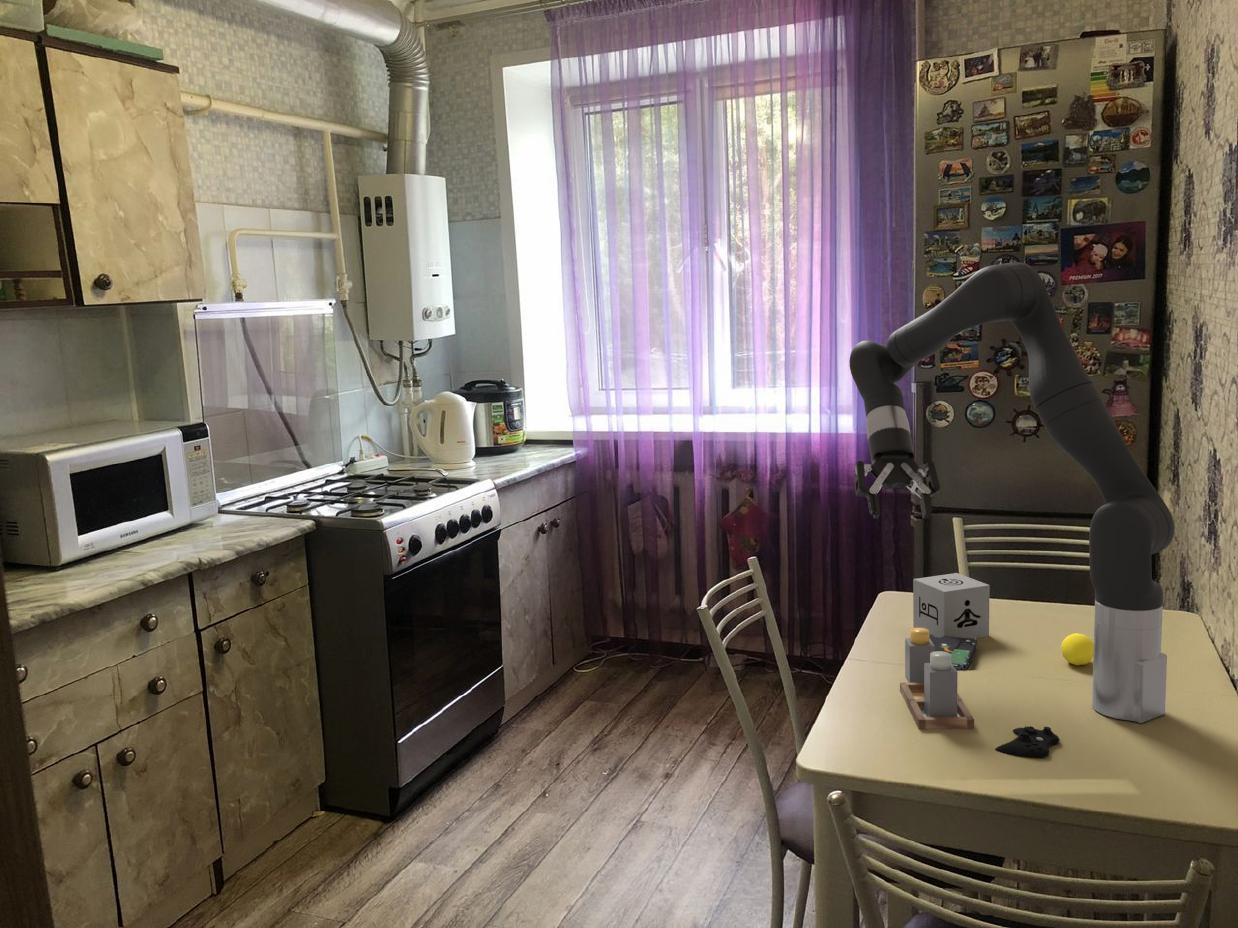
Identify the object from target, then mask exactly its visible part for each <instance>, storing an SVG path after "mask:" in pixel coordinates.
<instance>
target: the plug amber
mask: <svg viewBox="0 0 1238 928" xmlns="http://www.w3.org/2000/svg"><path fill="white" fill-rule="evenodd" d="M909 632H910V635H909V638H908V637H907V638H905V637H904V638H905V640H904V657H905V658H904V675H905V679H906V681H907V683H915V682H924V663H930V653H932V652H935V646H934V644H933V643H932V641H931V640H930V638H929V630H928V629H925V628H911V629H910V630H909Z"/></svg>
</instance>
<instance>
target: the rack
mask: <svg viewBox="0 0 1238 928" xmlns="http://www.w3.org/2000/svg"><path fill="white" fill-rule="evenodd" d="M899 692H900V694H901V696H902V698H903V700H904V702H905V705H906V706H907V708H908V710H909V712H910V715H911V716H912V719H913V721H914V723H915V725H916V726H917V728H918V730H972V729H975V718H974V717H973V715H972V713H971V712H970V710H969V709H968V707H967V706H966V704H965V703H964V701H963V699H962V698H961V696H960V694H959V693H958V692H957V717H926V715H925V713H924V682H915V683H908V682H899Z"/></svg>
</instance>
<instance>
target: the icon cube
mask: <svg viewBox="0 0 1238 928" xmlns="http://www.w3.org/2000/svg"><path fill="white" fill-rule="evenodd" d="M912 581H913V582H912V583H913V584H912V585H913V586H912V587H913V589H912V591H913V592H912V594H913V595H912V596H913V600H912V605H913V611H912V613H913V615H912V616H913V623H912V624H913V627H914V628H925V629H928V630H929V634H932V635H933V636H934V637H938V638H940V637H944V636H951V637H960V638H971V639H977V638H984V637H989V636H990V587H991V586H990V584H988V583H985V582H982V581H979V580H977V579H975V578H971V577H969V576H966V575H964V574H961V573H958V572H954V573H947V574H946V573H945V574H942V575H941V574H940V575H933V576H927V577H919V578H913V580H912Z"/></svg>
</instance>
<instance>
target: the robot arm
mask: <svg viewBox="0 0 1238 928" xmlns="http://www.w3.org/2000/svg"><path fill="white" fill-rule="evenodd" d="M1053 303H1054V302H1053V301H1052V299H1051V297H1050V293H1049V291H1048V288H1047V287H1046V284H1045V283H1044V280H1043V278H1042V277H1041V276H1040V273H1039V272H1038V271H1037V270H1036V269H1035V268H1034V267H1033V266H1031V265H1030V264H1027V263H1024V262H1020V261H1019V262H1017V261H1016V262H1007V263H999V264H993V265H989V266H985V267H983V268H981V269H979V270H978V271H976V272H975V273H974V274H972V275H971V276H970V277H968V279H966V281H964V282H963V283H962V284H961V285H960V286H958V287H957V288H956V289H955V290H954V291H953V292H952V293H951V294H950V295H948V296H947V297H946V298H944V299H943V300H942V301H941V302H940V303H938V304H937V305H936V306H934V307H933V308H931V309H930V310H928V311H927V312H925V313H923V314H922V315H919V316H918V317H916V318H915V319H913V320H911V321H909V322H908V323H906V324H904V325H902V326H901V327H900V328H898V329H896V330H895V331H893V332H892V333H891V334H890V335H889V337H888V339H887V342H886V345H885V344H882V343H879V342H876V341H872V340H862V341H860V342H858V343H856V345H854V347H853V348H852V350H851V352H850V354H849V355H850V356H849V359H848V360H849V361H848V362H849V364H848V365H849V371H850V374H851V376H852V379H853V381H854V383H855V385H856V388H857V390H858V392H859V394H860V396H861V398H862V400H863V404H864V412H865V417H866V439H867V440H868V441H867V442H868V448H869V449H868V450H869V455H870V462H871V464H869V463H868V464H867V463H865V462H863V461H862V460H859V461H857V462H856V465H855V467H854V485H855V495H856V497H858V498H862V497H863V498H866V500H867V505H868V511H869V514H870V515H871V516H872V517H873V519H879V517H880V515H881V507H880V502H879V495H878V493H879V492H880V490H881V488H882V487H883V486H884V487H885V488H886V489H894V488H897V489H905V488H907V489H908V490H909V491H910V492H911V493H912V494H915V495H916V496H917V497H918V498H920V499H919V505H920V511H921V516H922V519H928V518H929V516H930V515H931V514H932V512H933V504H932V498H936V497H937V495H938V493H939V491H940V490H941V485H940V482H939V477H938V473H937V470H936V466H935V465H936V464H935V463H934V461H932V460H931V461H928V462H927V463H924V464H923V463H922V464H920V463H919V464H918V462H917V461H916V459H915V453H914V452H915V451H914V446H913V441H912V434H911V428H910V424H909V419H908V416H907V414H906V409H905V403H904V395H903V393H902V390H901V388H900V387H899V386H898V385H897V384H896V383H898V382H900V381H901V380H902V379H904V377H905V376H906V375H907V374H908V373H909V371H911V369H913V367H914V366H916V364H917V363H919V362H920V361H923V360H925V359H928V357H930V356H932V355H935V354H936V353H937V352H939V351H941V350H942V349H943V348H945V346H946V345H948V344H949V342H950V341H951V340H952V339H953V338H954V337H955V336H957V335H958V334H959V333H961V332H964V331H965V330H968V329H971V328H974V327H977V326H980V325H985V324H989V323H1001V322H1008V321H1010V322H1011V323H1012V325H1013V326H1014V327H1015V329H1016V330H1017V332H1018V334H1019V336H1020V339H1021V340H1022V343H1023V344H1024V345H1023V346H1025V350H1026V353H1027V358H1028V389H1029V395H1030V400H1031V403H1032V405H1033V407H1034V410H1035V411H1036V413H1037V415H1038V417H1039V419H1040V421H1041V423H1042V425H1043V427H1044V428H1045V430H1046V432H1047V433H1048V435H1049V436H1050V437H1051V440H1053V442H1055V443H1056V444H1057V446H1058V447H1059V448H1060V449H1061V450H1062V451H1063V452H1064V453H1065V454H1067V455H1068V456H1069V458H1071V459H1072V460H1073V461H1074V462H1075V463H1077V464H1078V466H1080V467H1081V468H1082V469H1083V470H1084V472H1086V473H1087V474H1088V475H1089V477H1090V479H1091V480H1092V481H1093V483H1094V484H1095V485H1096V488H1097V489H1098V491H1099V492H1100V494H1101V497H1102V499H1103V501H1104V504H1103V505H1101V506H1100V507H1098V508H1097V510H1096V511H1095V512H1094V514H1093V516H1092V518H1091V522H1090V525H1089V533H1088V534H1089V535H1088V538H1089V540H1088V544H1089V545H1088V547H1089V555H1088V556H1089V577H1090V582H1091V584H1092V586H1093V589H1094V622H1093V623H1094V624H1093V625H1094V626H1093V628H1094V629H1093V644H1094V656H1093V658H1092V660H1093V661H1092V663H1093V664H1092V697H1091V698H1092V702H1091V703H1092V705H1091V706H1092V708H1093V709H1094V710H1095V711H1096V712H1098V713H1099V714H1101V715H1103V716H1107V717H1110V718H1113V719H1117V720H1122V721H1123V720H1124V721H1132V722H1136V723H1139V724H1143V723H1145V722H1148V721H1150V720H1153V719H1155V718H1158V717H1161V716H1164V715H1165V714H1166V697H1167V696H1166V694H1167V673H1168V672H1167V671H1168V670H1167V669H1168V668H1167V667H1168V656H1167V654H1166V653H1163V652H1162V636H1163V635H1162V634H1163V609H1164V607H1163V605H1164V589H1163V587H1162V586H1161V584H1159V583H1158V582H1157V581H1154V580H1153V575H1152V574H1153V573H1152V555H1154V554H1157V553H1159V552H1162V551H1164V550H1165V549H1167V548H1168V547H1169V545H1171V543H1172V541H1173V539H1174V536H1175V529H1176V528H1175V521H1174V518H1173V516H1172V513H1171V510H1170V509H1169V507H1168V506H1167V503H1165V501H1164V499H1163V498H1162V497H1161V495H1160V494H1159V492H1158V491H1157V489H1156V488H1155V486H1154V485H1153V484H1152V482H1151V481H1150V479H1149V477H1147V475H1146V474H1145V472H1144V471H1143V470H1142V469H1141V467H1140V465H1139V464H1138V462H1137V461H1136V459H1135V457H1134V456H1133V453H1132V451H1130V449H1129V447H1128V445H1127V443H1126V441H1125V439H1124V437H1123V436H1122V434H1121V432H1120V430H1119V429H1118V427H1117V425H1116V423H1115V421H1114V420H1113V418H1112V415H1111V414H1110V411H1108V409H1107V407H1106V404H1105V402H1104V400H1103V399H1102V396H1101V395H1100V393H1099V391H1098V389H1097V388H1096V386H1095V384H1094V382H1093V381H1092V379H1091V377H1090V375H1089V374H1088V372H1087V371H1086V369H1085V367H1084V366H1083V364H1082V362H1081V360H1080V357H1079V356H1078V353H1077V352H1076V350H1075V347H1074V346H1073V344H1072V343H1071V341H1070V339H1069V337H1068V335H1067V333H1066V331H1065V330H1064V327H1063V325H1062V323H1061V321H1060V318H1059V316H1058V314H1057V311H1056V309H1055V306H1054V304H1053ZM869 472H870V474H871V475H872V476H873V477H874V478H875V481H874V483H873V484H872V485H871V487H867V486H866V477H867V475H868V473H869ZM917 473H921V475H922V477H923V478H925V481H926V484H925V483H924V482H923V479H922V478H921V477H920V476H919V475H918V474H917Z"/></svg>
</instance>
